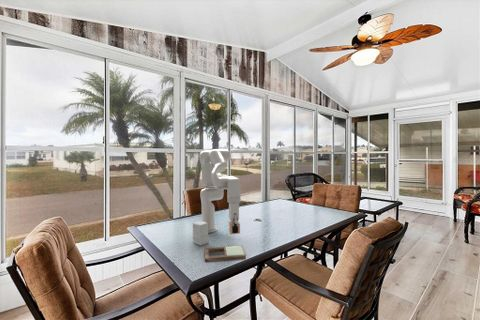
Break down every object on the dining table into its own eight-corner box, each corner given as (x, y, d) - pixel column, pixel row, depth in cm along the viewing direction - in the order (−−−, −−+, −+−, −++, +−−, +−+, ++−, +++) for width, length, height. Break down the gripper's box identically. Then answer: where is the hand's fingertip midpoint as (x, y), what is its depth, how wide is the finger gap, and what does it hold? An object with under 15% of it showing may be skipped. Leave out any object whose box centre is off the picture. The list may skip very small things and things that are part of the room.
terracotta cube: (229, 230, 128) (229, 221, 128) (238, 230, 129) (238, 220, 129) (230, 234, 123) (230, 224, 123) (240, 233, 124) (239, 223, 124)
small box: (208, 243, 142) (208, 222, 142) (200, 246, 137) (200, 225, 137) (200, 239, 148) (200, 220, 147) (192, 242, 143) (192, 222, 143)
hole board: (205, 250, 131) (205, 247, 131) (241, 247, 134) (241, 244, 134) (204, 261, 117) (204, 258, 117) (245, 258, 120) (245, 255, 120)
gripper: (226, 197, 134) (226, 226, 134) (228, 202, 117) (229, 237, 117) (238, 196, 135) (239, 226, 135) (242, 202, 118) (243, 236, 118)
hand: (234, 230), depth 126 cm, fingers closed on terracotta cube, 5 cm apart
